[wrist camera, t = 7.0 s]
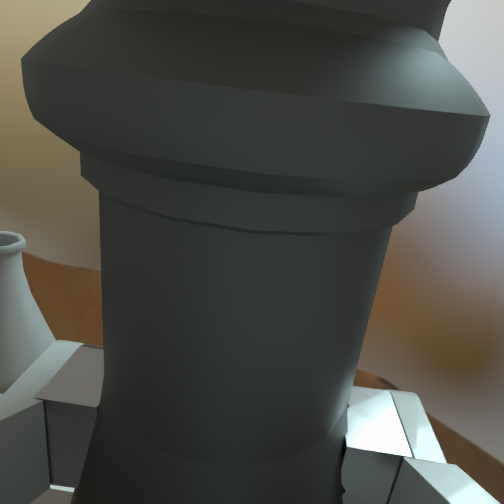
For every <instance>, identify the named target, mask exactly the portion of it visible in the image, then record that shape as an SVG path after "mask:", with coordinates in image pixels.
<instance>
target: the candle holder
mask: <svg viewBox="0 0 504 504" xmlns="http://www.w3.org/2000/svg"><path fill="white" fill-rule="evenodd" d="M450 1H451V0H91V1H90V2H89V3H88V4H87V6H86V7H85V8H84V9H83V10H82V11H81V12H80V13H79V14H77V15H75V16H74V17H72V18H70V19H69V20H67V21H65V22H64V23H62V24H61V25H59V26H58V27H56V28H55V29H53V30H52V31H51V32H49V33H48V34H47V35H46V36H44V37H43V38H42V39H41V40H40V41H39V42H37V44H35V45H34V46H33V47H32V48H31V49H30V50H29V51H28V52H27V53H26V54H25V55H24V56H23V57H22V58H21V65H22V76H23V85H24V91H25V95H26V99H27V102H28V105H29V108H30V110H31V113H32V115H33V117H34V119H35V120H37V121H38V122H39V123H41V124H42V125H43V126H45V127H46V128H47V129H49V130H50V131H51V132H53V133H54V134H55V135H57V136H58V137H60V138H61V139H63V140H64V141H65V142H67V143H68V144H70V145H71V146H72V147H74V148H75V149H77V150H78V151H80V164H81V176H82V177H83V178H85V179H86V180H87V181H88V182H89V183H91V184H92V185H93V186H94V187H95V188H96V189H98V190H99V207H100V208H99V210H100V246H101V280H102V315H103V349H104V377H103V383H102V390H101V397H100V404H99V408H98V413H97V417H96V421H95V425H94V429H93V432H92V436H91V440H90V444H89V448H88V451H87V455H86V459H85V463H84V466H83V470H82V474H81V478H80V482H79V485H78V488H75V489H74V492H73V496H72V500H71V503H70V504H343V496H342V494H343V490H344V487H343V486H342V478H341V466H342V458H343V450H344V442H345V435H346V433H347V431H348V417H347V403H348V400H349V396H350V392H351V388H352V384H353V380H354V376H355V372H356V368H357V364H358V360H359V356H360V352H361V348H362V344H363V340H364V336H365V333H366V329H367V325H368V321H369V317H370V313H371V309H372V305H373V301H374V297H375V294H376V289H377V285H378V282H379V278H380V274H381V270H382V266H383V262H384V258H385V254H386V250H387V246H388V243H389V238H390V235H391V231H392V226H393V225H396V224H398V223H399V222H400V221H401V220H402V219H403V218H405V217H406V216H407V215H408V214H409V213H410V212H411V211H412V210H414V206H415V203H416V199H417V195H418V192H420V191H424V190H427V189H430V188H433V187H435V186H437V185H440V184H442V183H444V182H446V181H449V180H451V179H454V178H455V177H457V176H458V175H459V174H460V173H461V172H462V171H463V170H464V169H465V168H466V167H467V166H468V164H469V163H470V162H471V160H472V159H473V157H474V156H475V154H476V153H477V151H478V149H479V147H480V144H481V142H482V140H483V137H484V134H485V131H486V128H487V125H488V122H489V118H490V114H489V112H488V110H487V108H486V107H485V105H484V103H483V102H482V100H481V99H480V97H479V96H478V94H477V93H476V91H475V90H474V89H473V87H472V86H471V85H470V84H469V82H468V81H467V80H466V79H465V78H464V77H463V75H462V74H461V73H460V72H459V71H458V70H457V69H456V68H455V67H454V66H453V65H452V64H451V63H450V62H449V61H448V59H447V58H446V56H445V54H444V52H443V50H442V48H441V47H440V45H439V43H438V40H439V36H440V32H441V28H442V24H443V20H444V16H445V13H446V10H447V7H448V5H449V3H450Z"/></svg>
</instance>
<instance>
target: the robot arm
mask: <svg viewBox="0 0 504 504" xmlns="http://www.w3.org/2000/svg"><path fill="white" fill-rule="evenodd" d="M103 377H104V349H103V347H102V346H96V345H90V344H82V343H77V342H71V341H64V340H58V341H55V342H53V343H52V344H51V345H50V346H49V347H48V348H47V349H46V350H45V351H44V352H43V353H42V354H41V355H40V356H39V357H38V358H37V359H36V361H35V362H34V363H33V364H32V365H31V366H30V367H29V368H28V369H27V370H26V371H25V372H24V373H23V374H22V375H21V376H20V377H19V378H18V379H17V380H16V381H15V382H14V383H13V384H12V385H11V386H10V387H9V388H8V389H7V390H6V391H5V393H4V394H0V504H30V503H31V502H33V501H34V500H35V499H37V498H38V497H39V496H40V495H42V494H43V493H44V492H46V491H47V490H48V489H50V485H56V486H63V487H71V488H78V485H79V482H80V478H81V474H82V470H83V466H84V463H85V459H86V455H87V451H88V448H89V444H90V440H91V436H92V432H93V429H94V425H95V421H96V417H97V413H98V408H99V404H100V397H101V390H102V383H103ZM347 417H348V431H347V433H346V435H345V442H344V450H343V458H342V466H341V478H342V486H343V487H344V490H343V494H342V496H343V504H500V503H499V502H498V501H497V500H495V499H494V498H493V497H492V496H491V495H490V494H489V493H487V492H486V491H485V490H484V489H483V488H482V487H481V486H479V485H478V484H477V483H476V482H475V481H474V480H473V479H471V478H470V477H469V476H468V475H467V474H466V473H465V472H463V471H462V470H461V469H460V468H459V467H458V466H457V465H452V464H447V462H446V459H445V457H444V455H443V452H442V450H441V448H440V446H439V443H438V441H437V439H436V436H435V434H434V432H433V429H432V427H431V425H430V422H429V420H428V418H427V415H426V413H425V411H424V409H423V406H422V404H421V402H420V399H419V397H418V396H417V395H416V394H415V393H412V392H404V391H396V390H381V389H374V388H367V387H360V386H353V385H352V388H351V392H350V396H349V400H348V403H347Z"/></svg>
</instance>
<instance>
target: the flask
mask: <svg viewBox="0 0 504 504" xmlns="http://www.w3.org/2000/svg"><path fill="white" fill-rule="evenodd" d="M25 245H26V242H25V240H24V238H23V237H22V235H21V234H17V233H12V232H7V231H1V232H0V394H4V393H5V391H6V390H7V389H8V388H9V387H10V386H11V385H12V384H13V383H14V382H15V381H16V380H17V379H18V378H19V377H20V376H21V375H22V374H23V373H24V372H25V371H26V370H27V369H28V368H29V367H30V366H31V365H32V364H33V363H34V362H35V361H36V359H37V358H38V357H39V356H40V355H41V354H42V353H43V352H44V351H45V350H46V349H47V348H48V347H49V346H50V345H51V344H52V343H53V342H55V341H56V339H55V338H54V336H53V334H52V332H51V331H50V329H49V327H48V325H47V323H46V322H45V320H44V318H43V316H42V314H41V312H40V310H39V308H38V306H37V304H36V302H35V300H34V298H33V296H32V294H31V292H30V289H29V286H28V283H27V279H26V276H25V273H24V270H23V263H22V249H24V248H25Z"/></svg>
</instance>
